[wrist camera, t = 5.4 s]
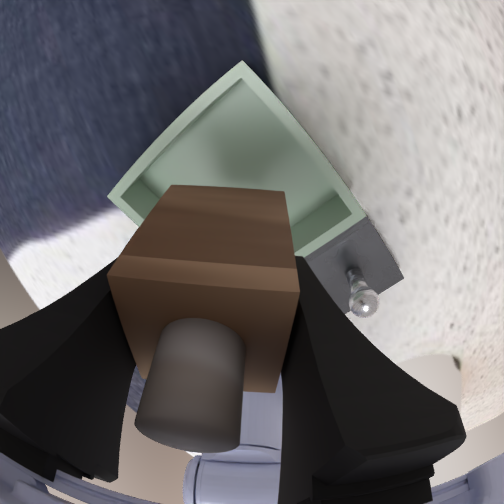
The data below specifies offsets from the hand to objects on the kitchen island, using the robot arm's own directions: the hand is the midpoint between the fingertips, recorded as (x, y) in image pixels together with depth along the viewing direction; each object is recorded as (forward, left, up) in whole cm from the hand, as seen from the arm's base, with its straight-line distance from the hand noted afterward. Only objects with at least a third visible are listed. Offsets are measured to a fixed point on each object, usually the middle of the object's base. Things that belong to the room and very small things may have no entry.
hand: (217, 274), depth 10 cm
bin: (0, 0, -9) cm, 9 cm away
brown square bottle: (0, 0, -2) cm, 2 cm away
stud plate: (-10, -2, -9) cm, 14 cm away
